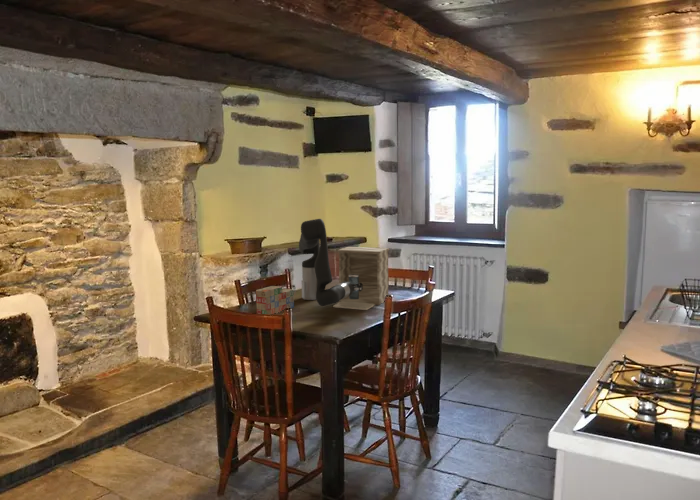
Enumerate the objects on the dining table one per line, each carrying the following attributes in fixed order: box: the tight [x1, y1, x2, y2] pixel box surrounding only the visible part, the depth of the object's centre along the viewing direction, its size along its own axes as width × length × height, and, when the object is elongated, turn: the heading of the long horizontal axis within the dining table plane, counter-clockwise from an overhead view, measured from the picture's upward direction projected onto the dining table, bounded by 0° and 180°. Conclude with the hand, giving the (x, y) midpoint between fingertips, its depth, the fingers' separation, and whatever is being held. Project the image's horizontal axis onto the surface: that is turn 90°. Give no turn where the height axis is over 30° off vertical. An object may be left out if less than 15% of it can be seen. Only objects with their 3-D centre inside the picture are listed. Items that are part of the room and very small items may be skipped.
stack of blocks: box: [255, 285, 295, 315], centre depth 277 cm, size 21×6×12 cm, turn 148°
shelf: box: [337, 246, 390, 306], centre depth 297 cm, size 15×23×27 cm, turn 67°
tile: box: [332, 301, 375, 311], centre depth 286 cm, size 11×18×1 cm, turn 67°
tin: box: [349, 274, 359, 299], centre depth 285 cm, size 5×5×12 cm
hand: (355, 284), depth 287 cm, fingers closed on tin, 5 cm apart
